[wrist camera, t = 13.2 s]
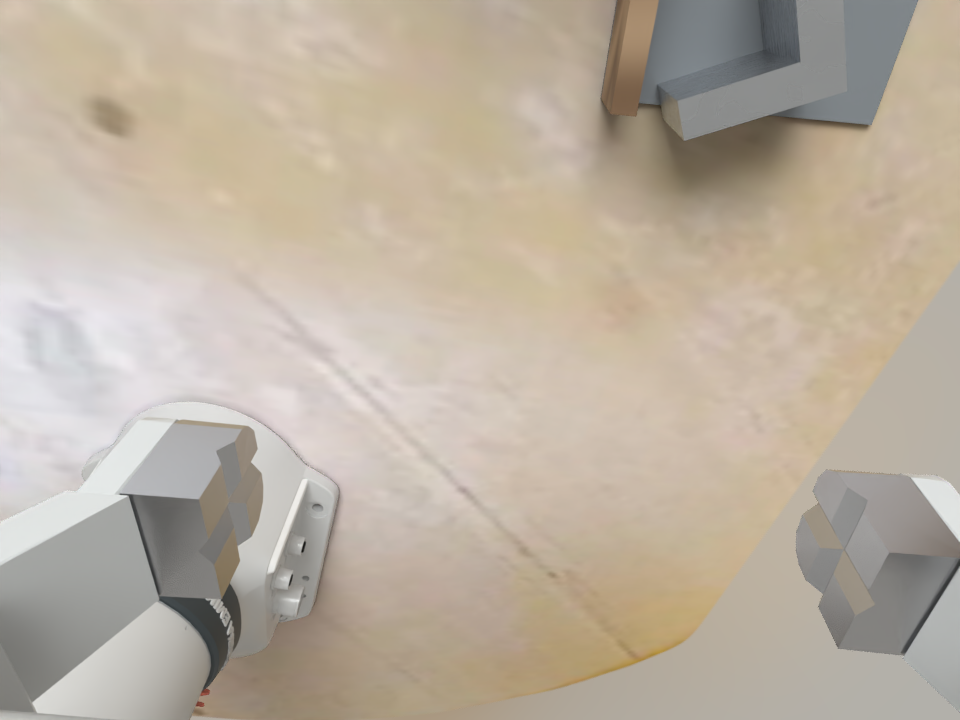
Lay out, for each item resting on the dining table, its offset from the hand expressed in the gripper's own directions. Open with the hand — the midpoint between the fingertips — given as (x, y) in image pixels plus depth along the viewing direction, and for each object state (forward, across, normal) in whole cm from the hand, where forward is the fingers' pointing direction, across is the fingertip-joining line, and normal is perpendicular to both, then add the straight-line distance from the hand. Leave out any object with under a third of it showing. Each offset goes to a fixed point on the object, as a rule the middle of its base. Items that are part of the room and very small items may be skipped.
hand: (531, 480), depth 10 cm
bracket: (+29, -9, -5) cm, 31 cm away
